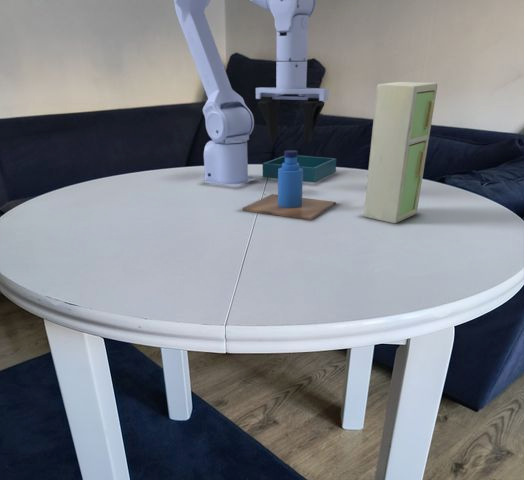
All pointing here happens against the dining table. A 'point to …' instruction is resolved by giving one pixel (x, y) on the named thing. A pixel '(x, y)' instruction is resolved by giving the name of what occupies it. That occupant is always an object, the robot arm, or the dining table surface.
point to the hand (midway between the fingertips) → (290, 140)
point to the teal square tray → (303, 167)
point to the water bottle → (290, 181)
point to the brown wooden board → (305, 211)
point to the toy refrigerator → (398, 149)
